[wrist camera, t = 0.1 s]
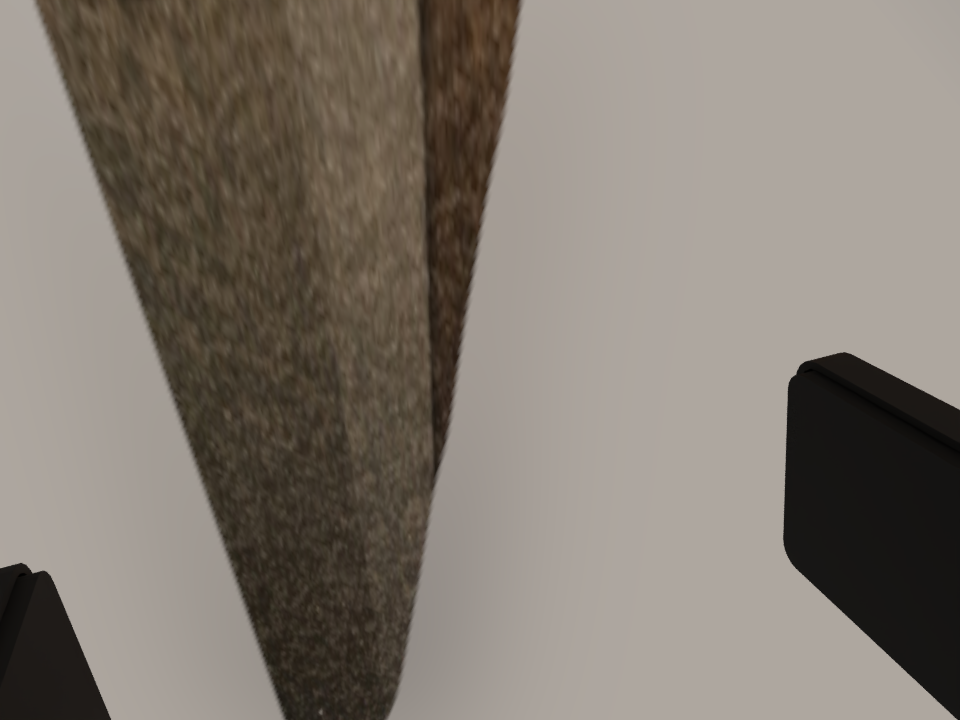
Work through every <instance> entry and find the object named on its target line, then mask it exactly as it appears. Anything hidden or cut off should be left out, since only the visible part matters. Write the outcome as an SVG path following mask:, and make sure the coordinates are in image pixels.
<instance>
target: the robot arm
mask: <svg viewBox="0 0 960 720" xmlns="http://www.w3.org/2000/svg"><path fill="white" fill-rule="evenodd" d="M785 472H786V473H785V504H784V533H783V534H784V535H783V540H784V547H785V551H786V554H787V556H788V558H789V560H790V561H791V563H792V564H793V566H794V567H795V568H796V569H797V570H798V571H799V572H800V573H802V574H803V575H804V576H805V577H806V578H807V579H808V580H809V581H810V582H811V583H812V584H813V585H814V586H815V587H816V588H817V589H819V590H820V591H821V592H822V593H823V594H824V595H825V596H826V597H827V598H828V599H829V600H830V601H831V602H832V603H833V604H835V605H836V606H837V607H838V608H839V609H840V610H841V611H842V612H843V613H844V614H845V615H846V616H847V617H848V618H850V619H851V620H852V621H853V622H854V623H855V624H856V625H857V626H858V627H859V628H860V629H861V630H862V631H863V632H864V633H865V634H867V635H868V636H869V637H870V638H871V639H872V640H873V641H874V642H875V643H876V644H877V645H878V646H879V647H881V648H882V649H883V650H884V651H885V652H886V653H887V654H888V655H889V656H890V657H891V658H892V659H893V660H894V661H895V662H896V663H898V664H899V665H900V666H901V667H902V668H903V669H904V670H905V671H906V672H907V673H908V674H909V675H910V676H911V677H912V678H914V679H915V680H916V681H917V682H918V683H919V684H920V685H921V686H922V687H923V688H924V689H925V690H926V691H927V692H928V693H930V694H931V695H932V696H933V697H934V698H935V699H936V700H937V701H938V702H939V703H940V704H941V705H942V706H944V708H946V709H947V710H948V711H949V712H950V713H951V714H952V715H953V716H954V717H955V718H956V719H958V720H960V410H959V409H957V408H955V407H953V406H951V405H949V404H947V403H945V402H943V401H941V400H939V399H937V398H935V397H934V396H932V395H930V394H928V393H926V392H924V391H922V390H920V389H918V388H916V387H914V386H912V385H910V384H908V383H906V382H904V381H902V380H900V379H899V378H896V377H895V376H893V375H891V374H889V373H887V372H885V371H883V370H881V369H879V368H877V367H875V366H873V365H871V364H869V363H867V362H865V361H863V360H861V359H860V358H858V357H856V356H854V355H852V354H849V353H845V352H843V353H837V354H834V355H830V356H826V357H822V358H818V359H814V360H810V361H806V362H804V363H803V364H801V365H800V367H799V369H798V371H797V374H796V375H795V376H793V377H792V378H791V380H790V382H789V386H788V406H787V438H786V471H785ZM0 720H111V718H110V716H109V714H108V711H107V709H106V706H105V704H104V701H103V699H102V697H101V694H100V692H99V689H98V687H97V685H96V682H95V680H94V677H93V675H92V673H91V670H90V668H89V666H88V663H87V661H86V658H85V656H84V653H83V651H82V649H81V646H80V644H79V642H78V639H77V637H76V634H75V632H74V630H73V627H72V625H71V622H70V620H69V618H68V616H67V613H66V611H65V608H64V606H63V603H62V601H61V598H60V596H59V594H58V591H57V589H56V587H55V584H54V582H53V580H52V578H51V576H50V575H49V574H48V573H47V572H46V571H40V572H37V573H33V574H32V572H31V570H30V569H29V568H28V567H27V566H26V565H25V564H22V563H19V564H15V565H11V566H8V567H4V568H0Z"/></svg>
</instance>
